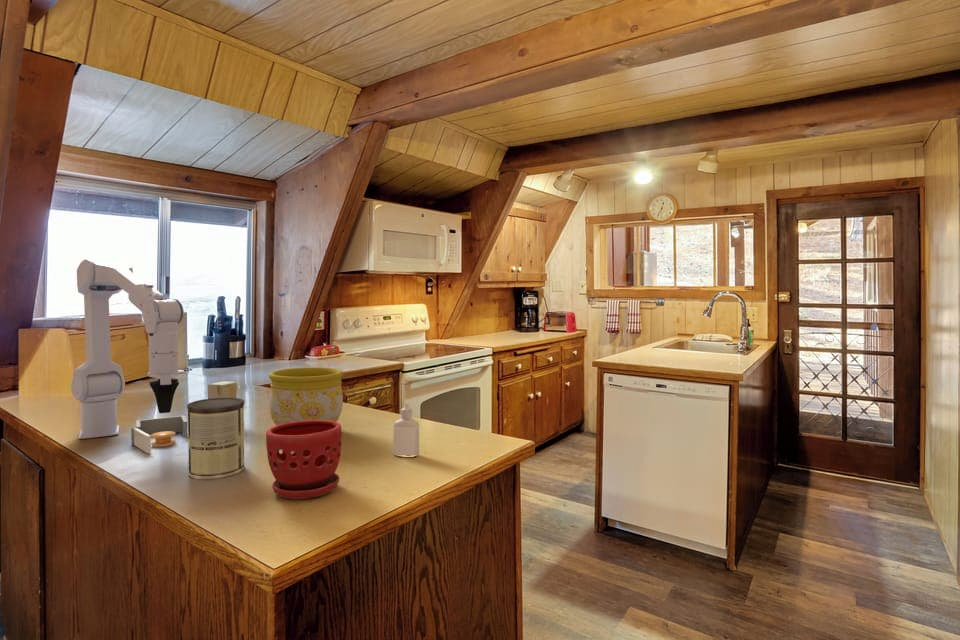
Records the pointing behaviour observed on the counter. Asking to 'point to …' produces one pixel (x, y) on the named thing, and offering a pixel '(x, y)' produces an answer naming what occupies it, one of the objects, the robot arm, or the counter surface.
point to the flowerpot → (305, 394)
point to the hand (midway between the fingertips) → (164, 411)
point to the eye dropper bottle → (406, 434)
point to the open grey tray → (163, 425)
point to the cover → (141, 439)
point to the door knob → (163, 438)
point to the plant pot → (304, 457)
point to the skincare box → (222, 390)
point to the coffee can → (216, 437)
